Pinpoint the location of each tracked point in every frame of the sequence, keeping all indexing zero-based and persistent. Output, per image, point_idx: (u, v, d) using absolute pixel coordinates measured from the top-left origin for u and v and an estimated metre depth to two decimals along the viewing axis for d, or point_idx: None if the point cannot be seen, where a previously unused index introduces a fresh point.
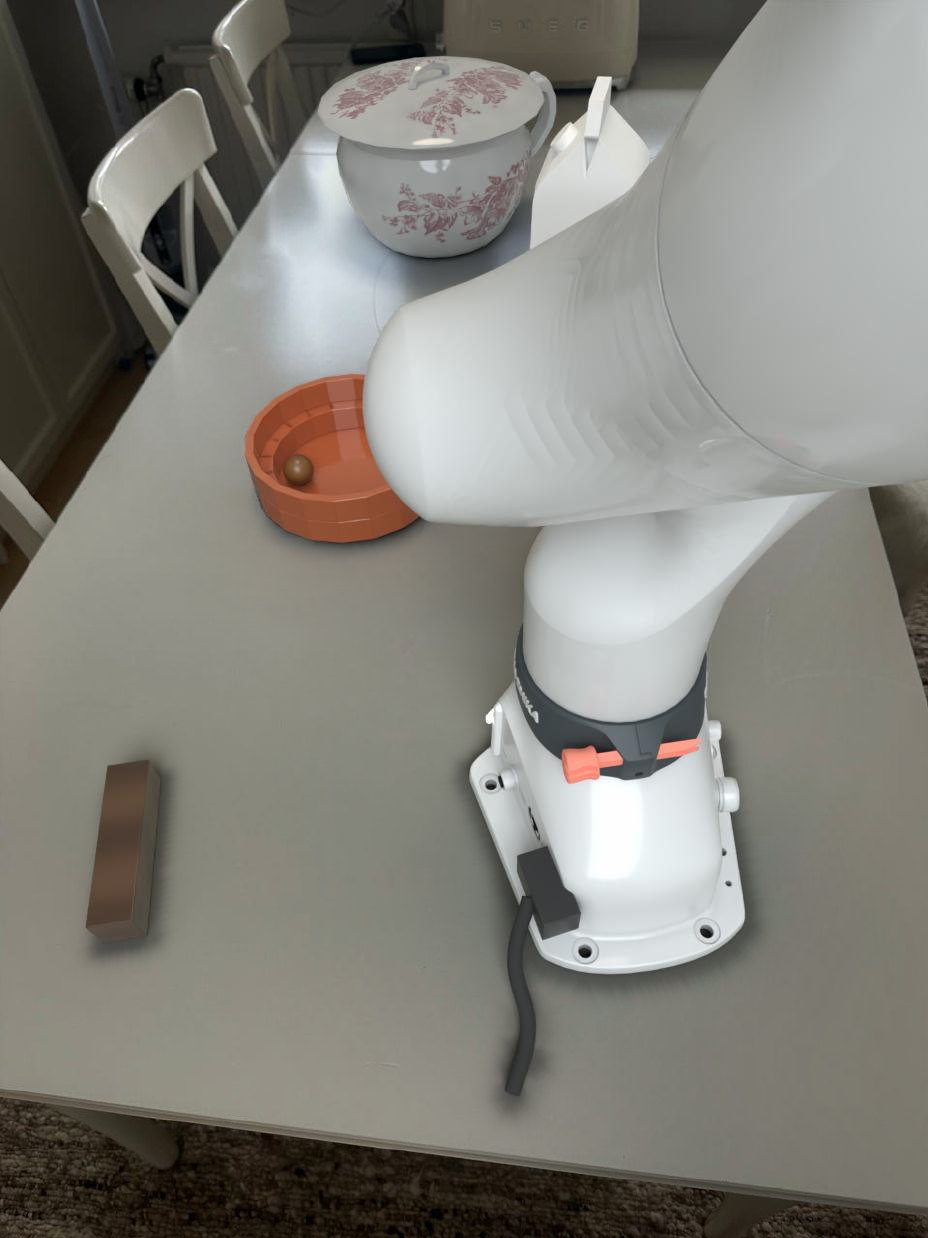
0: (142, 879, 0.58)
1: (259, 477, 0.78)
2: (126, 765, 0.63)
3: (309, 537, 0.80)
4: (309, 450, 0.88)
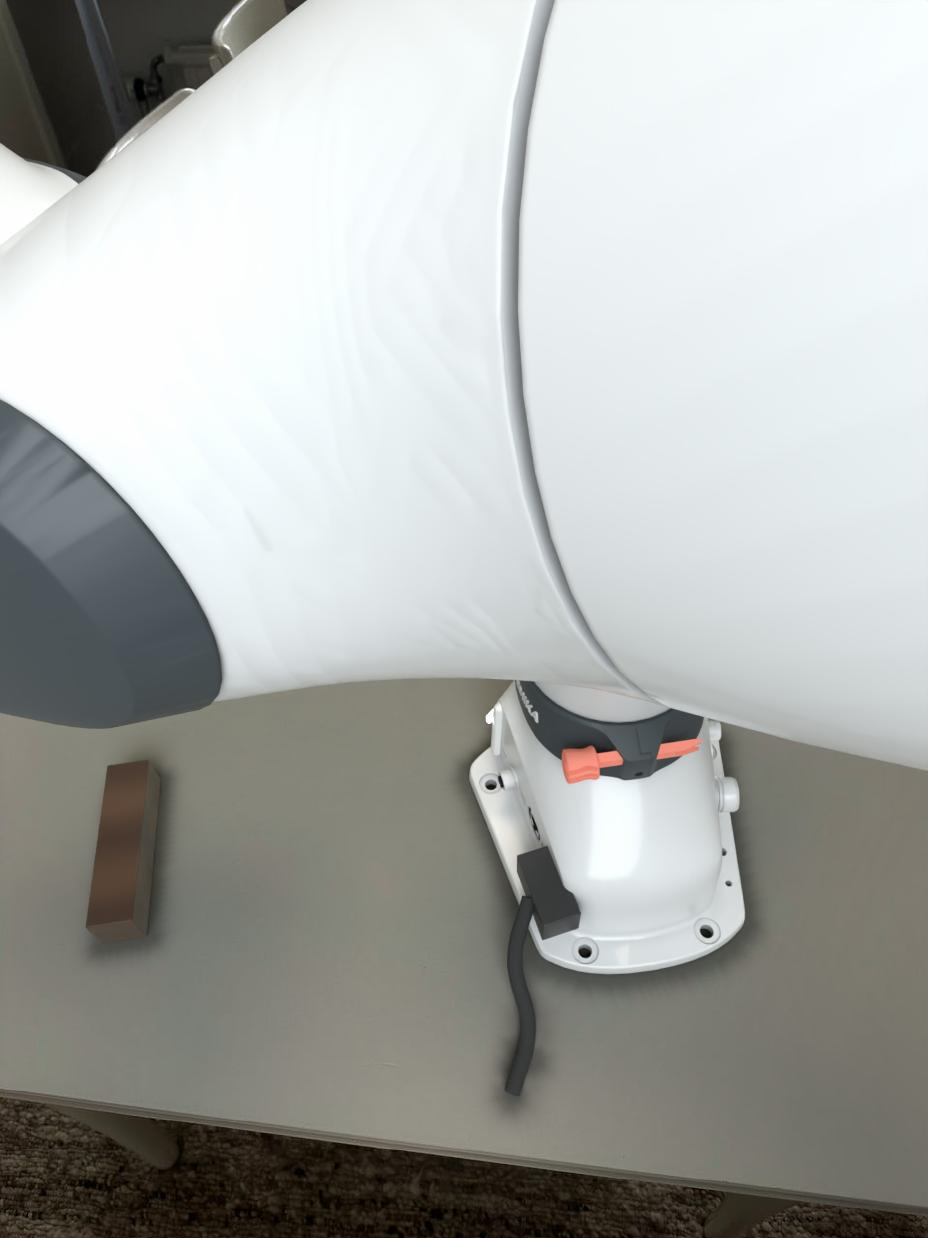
0: (142, 879, 0.58)
1: None
2: (126, 765, 0.63)
3: None
4: None
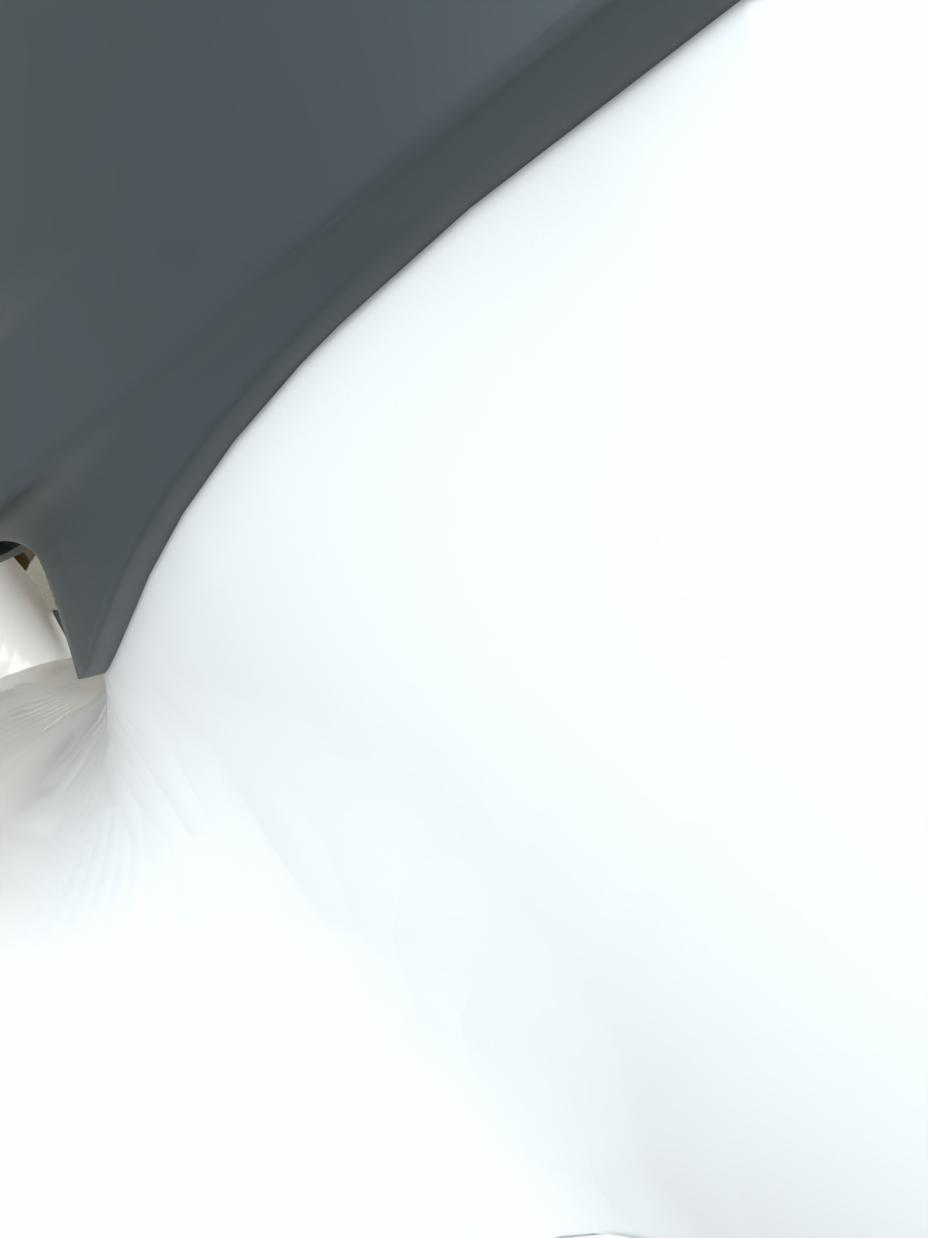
0: None
1: None
2: None
3: None
4: None
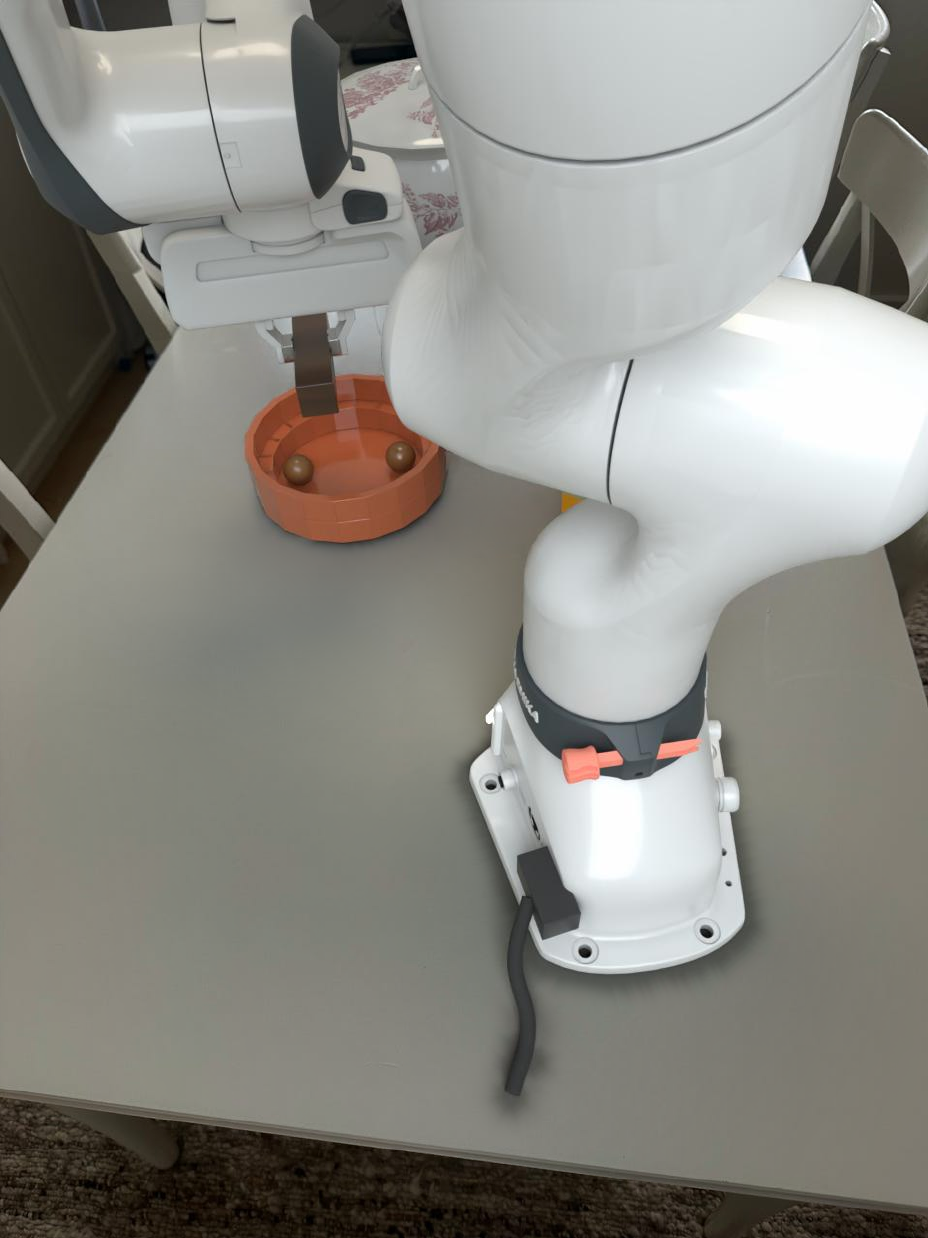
0: None
1: (259, 477, 0.78)
2: None
3: (309, 537, 0.80)
4: (309, 450, 0.88)
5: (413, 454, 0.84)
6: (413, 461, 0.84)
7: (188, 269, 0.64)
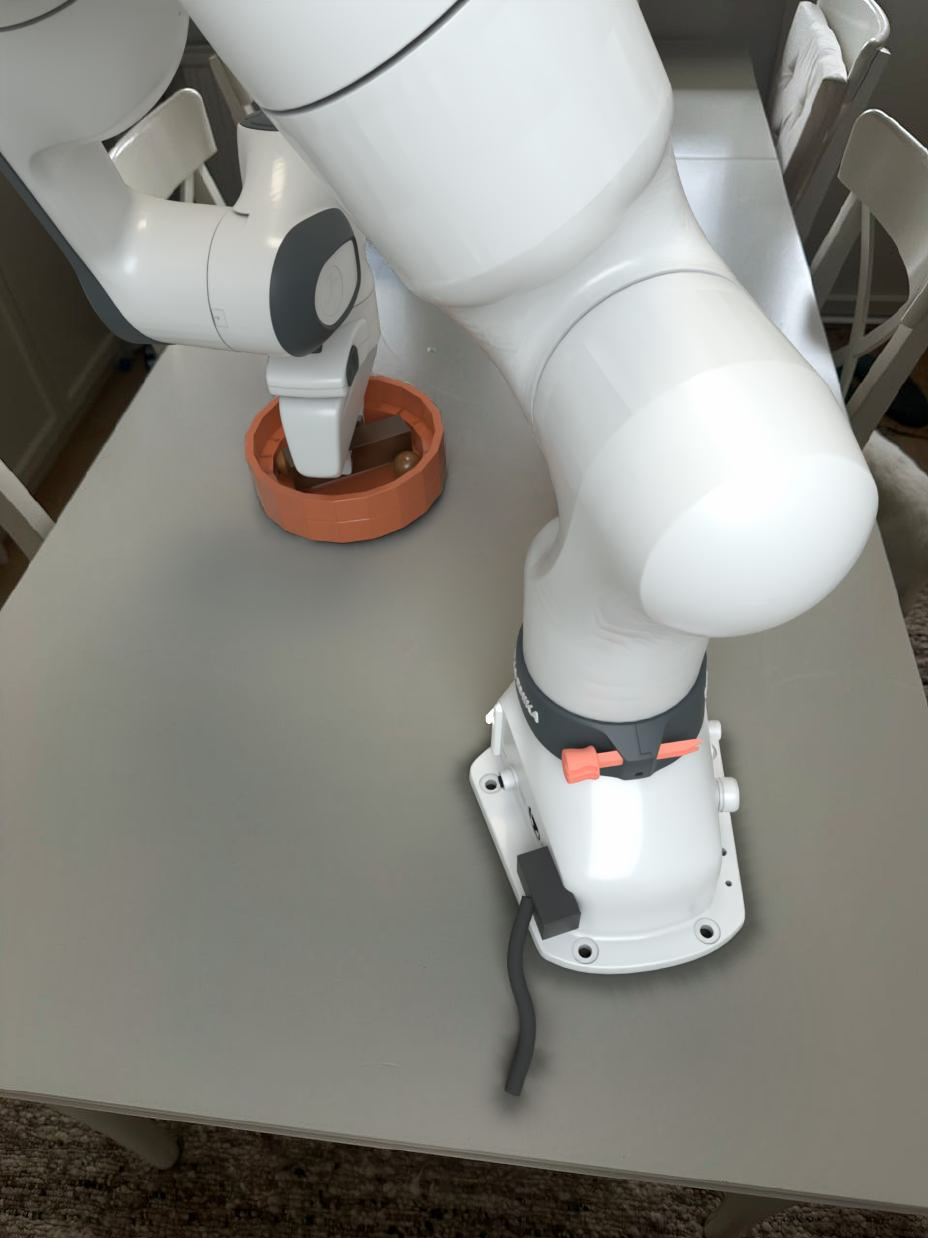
0: None
1: (259, 477, 0.78)
2: (402, 422, 0.83)
3: (309, 537, 0.80)
4: None
5: None
6: None
7: None
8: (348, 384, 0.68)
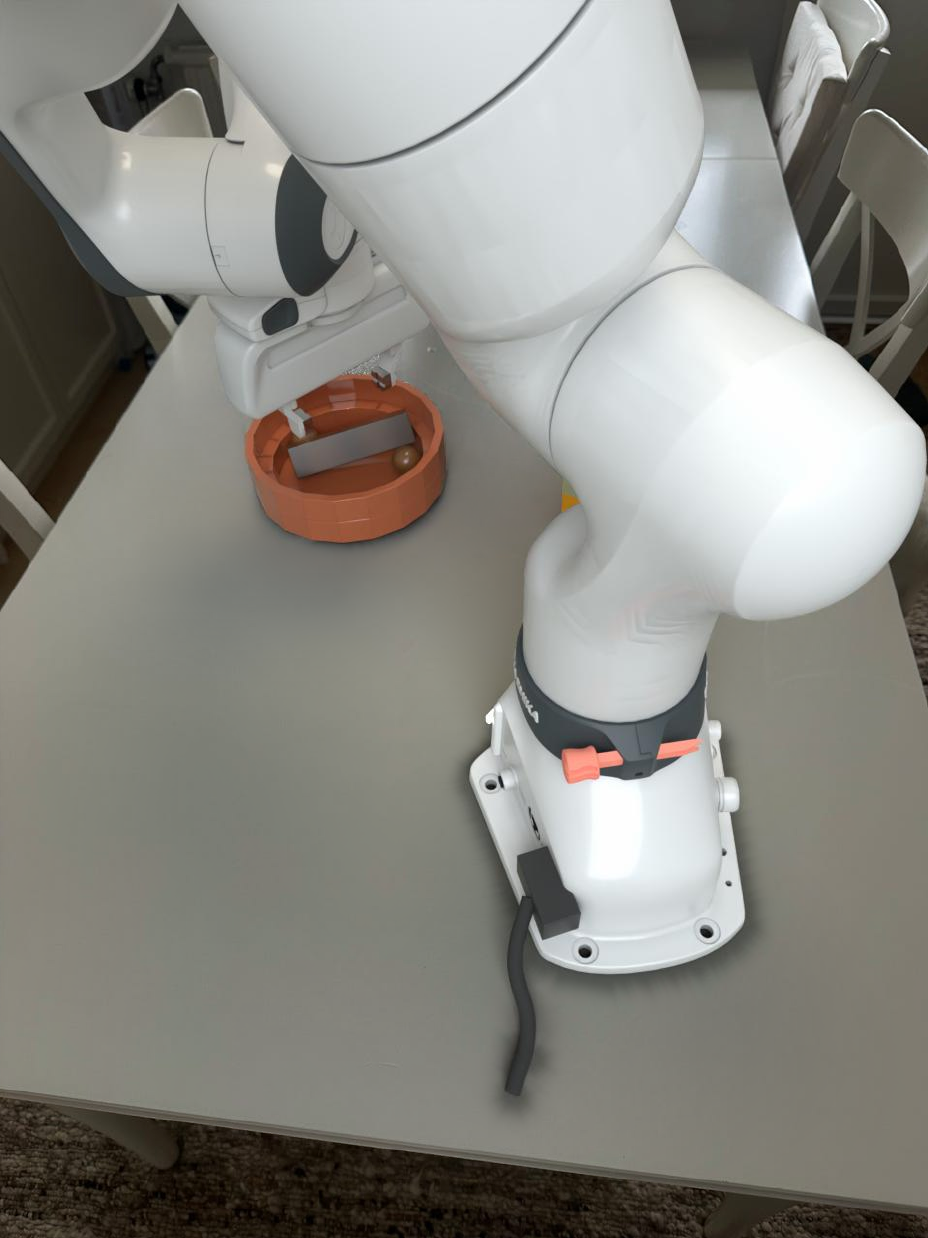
0: None
1: (259, 477, 0.78)
2: (408, 427, 0.83)
3: (309, 537, 0.80)
4: None
5: None
6: None
7: None
8: (264, 332, 0.65)
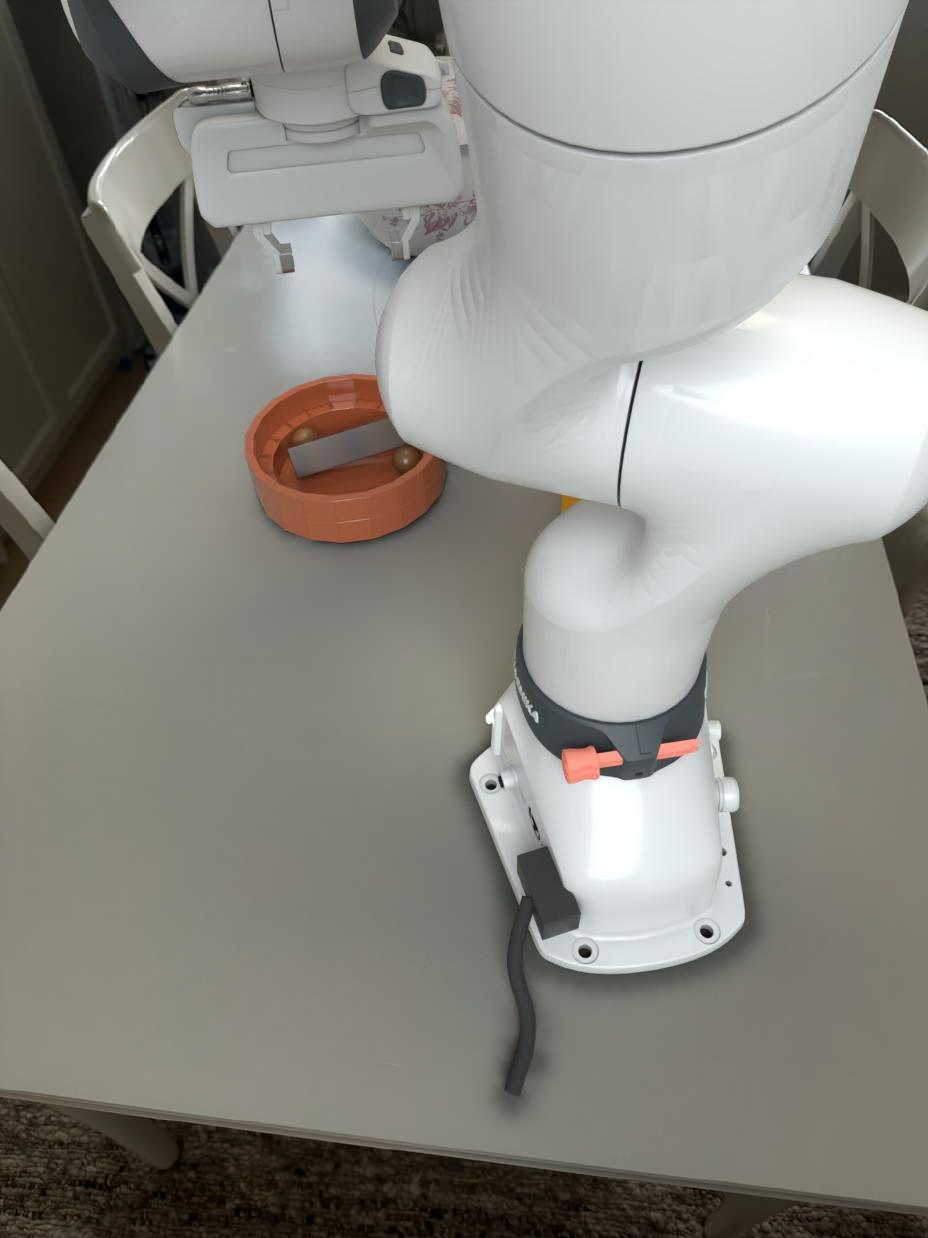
0: None
1: (259, 477, 0.78)
2: None
3: (309, 537, 0.80)
4: None
5: None
6: None
7: (219, 157, 0.62)
8: None
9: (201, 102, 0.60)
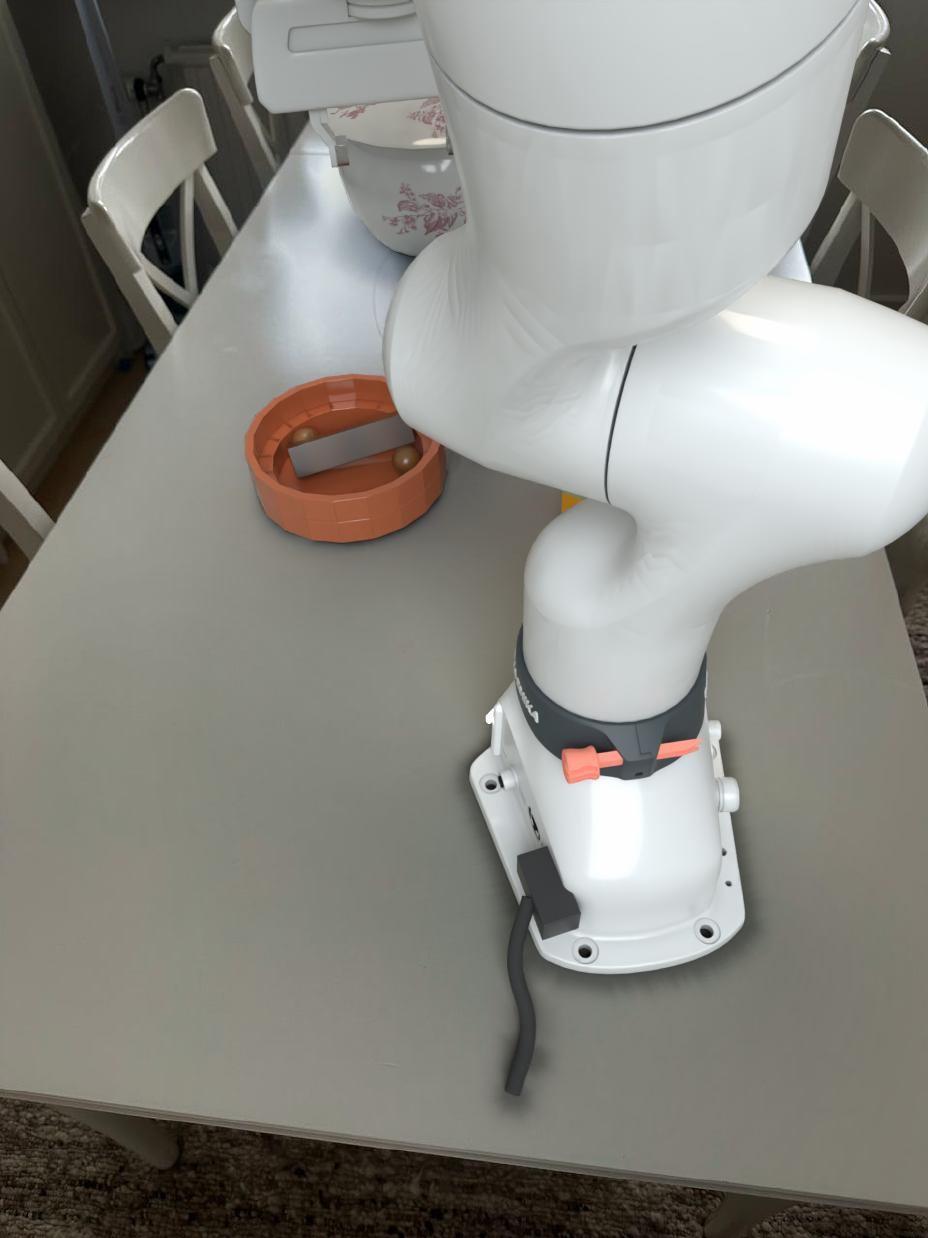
0: None
1: (259, 477, 0.78)
2: (408, 427, 0.83)
3: (309, 537, 0.80)
4: None
5: None
6: None
7: (280, 35, 0.61)
8: None
9: None
